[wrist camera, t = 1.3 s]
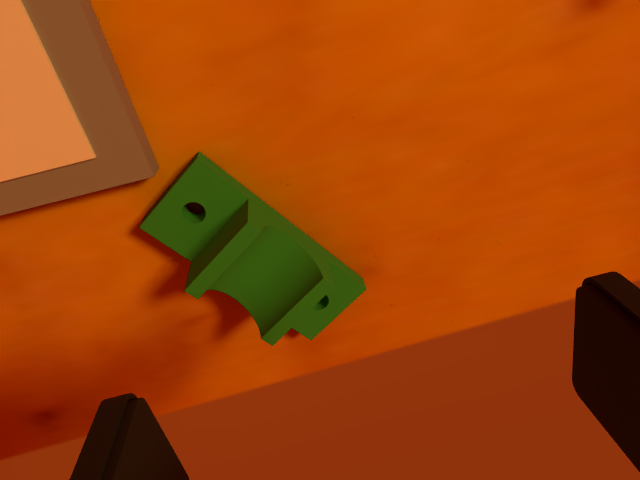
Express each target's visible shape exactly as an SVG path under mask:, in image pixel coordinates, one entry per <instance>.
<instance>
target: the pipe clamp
mask: <svg viewBox="0 0 640 480" xmlns="http://www.w3.org/2000/svg"><path fill="white" fill-rule="evenodd" d="M190 202H196V203H199V204H201V205H202V206H203V207H204V209H205V212H203V213H201V214H193V213H191V212H189V211H188V210H187V208H186V207H185V205H186V204H187V203H190ZM139 228H141V229H142V230H144V231H145V232H147V233H148V234H150V235H151V236H153V237H154V238H156V239H157V240H159V241H160V242H162V243H163V244H165V245H167V246H168V247H170V248H171V249H173V250H174V251H176V252H177V253H179V254H180V255H182V256H183V257H185V258H186V259H188V260H189V261H191V265H190V269H189V274H188V278H187V282H186V286H185V290H184V291H185V292H187V293H188V294H190V295H192V296H193V297H195V298H197V299H199V298H200V297H201V296H202V295H203V294H204V293H205V291H206V290H217V291H221V292H223V293H226V294H228V295H229V296H231V297H233V298H234V299H236V300H237V301H238V302H239V303H241V304H242V305H243V306H244V307H245V308H246V309H247V310H248V312H249V313H250V314H251V315H252V317H253V318H254V320H255V322H256V323H257V325H258V328H259V331H260V335H261V339H262V340H264V341H266V342H267V343H269V344H270V345H272V346H273V345H274V344H275V343H276V342H277V341H278V340H279V339H280V338H281V337H282V336H283V335H285V334H286V333H287V332H288V331H289V330H290V329H291V328H293V329H294V330H296V331H297V332H299V333H300V334H302V335H304V336H305V337H307V338H308V339H310V340H312V339H313V338H314V337H315V336H316V335H317V334H319V333H320V332H321V331H322V330H323V329H324V328H325V327H326V326H327V325H328V324H329V323H330V322H332V321H333V320H334V319H335V318H336V317H337V316H338V315H339V314H340V313H341V312H342V311H343V310H344V309H346V308H347V307H348V306H349V305H350V304H351V303H352V302H353V301H354V300H355V299H356V298H357V297H359V296H360V295H361V294H362V293H363V292H364V291H365V290H366V286H365V284H364V281H363V278H362V277H360V276H359V275H358V274H357V273H355V272H354V271H353V270H351V269H350V268H349V267H347V266H346V265H345V264H344V263H342V262H341V261H340V260H338V259H337V258H336V257H335V256H333V255H332V254H331V253H329V252H328V251H327V250H326V249H324V248H323V247H322V246H320V245H319V244H318V243H317V242H315V241H314V240H313V239H311V238H310V237H309V236H308V235H306V234H305V233H304V232H302V231H301V230H300V229H299V228H297V227H296V226H295V225H293V224H292V223H291V222H289V221H288V220H287V219H286V218H284V217H283V216H282V215H280V214H279V213H278V212H277V211H275V210H274V209H273V208H271V207H270V206H269V205H268V204H266V203H265V202H264V201H262V200H261V199H260V198H259V197H257V196H256V195H255V194H253V193H252V192H251V191H250V190H248V189H247V188H246V187H244V186H243V185H242V184H241V183H239V182H238V181H237V180H235V179H234V178H233V177H231V176H230V175H229V174H228V173H226V172H225V171H224V170H222V169H221V168H220V167H219V166H217V165H216V164H215V163H213V162H212V161H211V160H210V159H208V158H207V157H206V156H204V155H203V154H202V153H201V152H198V153H197V155H196V156H195V157H194V158H193V159H192V161H191V162H190V163H189V164H188V165H187V167H186V168H185V169H184V170H183V171H182V173H181V174H180V175H179V176H178V177H177V179H176V180H175V181H174V182H173V183H172V185H171V186H170V187H169V188H168V189H167V191H166V192H165V193H164V194H163V195H162V197H161V198H160V199H159V200H158V201H157V203H156V204H155V205H154V206H153V207H152V209H151V210H150V211H149V212H148V213H147V215H146V216H145V217H144V219H143V221H142V223H141V225H140V227H139Z"/></svg>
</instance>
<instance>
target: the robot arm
mask: <svg viewBox="0 0 640 480" xmlns="http://www.w3.org/2000/svg"><path fill="white" fill-rule="evenodd" d="M572 382H573V386H574V388H575V391H576V392H577V394H578V396H579V397H580V398H581V400H582V401H583V402H584V403H585V404H586V406H587V407H588V408H589V409H590V411H591V412H592V413H593V415H594V416H595V417H596V418H597V420H598V421H599V422H600V423H601V424H602V426H603V427H604V428H605V430H606V431H607V432H608V433H609V435H610V436H611V437H612V438H613V439H614V441H615V442H616V443H617V444H618V446H619V447H620V448H621V449H622V451H623V452H624V453H625V454H626V456H627V457H628V458H629V459H630V461H631V462H632V463H633V464H634V466H635V467H636V468H637V469H638V471H639V472H640V289H639V288H638V287H637V286H635V285H634V284H633V283H631V282H630V281H629V280H627V279H626V278H625V277H623V276H622V275H621V274H619V273H617V272H608V273H605V274H601V275H597V276H593V277H589V278H586V279H584V281H583V283H582V287H579V288H577V290H576V301H575V324H574V348H573V371H572ZM69 480H189V477H188V475H187V473H186V471H185V470H184V468H183V466H182V464H181V462H180V461H179V459H178V457H177V455H176V454H175V452H174V450H173V448H172V446H171V445H170V443H169V441H168V439H167V438H166V436H165V434H164V432H163V431H162V429H161V427H160V425H159V423H158V422H157V420H156V418H155V416H154V414H153V413H152V411H151V409H150V407H149V406H148V404H147V402H146V401H145V399H143V398H137V397H136V396H135V395H134V394H132V393H129V394H125V395H121V396H117V397H113V398H109V399H105V400H103V401H102V402H101V404H100V406H99V408H98V410H97V413H96V415H95V418H94V420H93V423H92V425H91V428H90V430H89V433H88V435H87V438H86V440H85V443H84V445H83V448H82V450H81V453H80V455H79V458H78V461H77V463H76V465H75V468H74V471H73V473H72V475H71V478H70V479H69Z"/></svg>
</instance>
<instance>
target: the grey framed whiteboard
mask: <svg viewBox="0 0 640 480" xmlns="http://www.w3.org/2000/svg"><path fill="white" fill-rule="evenodd" d="M158 169H159V167H158V164H157V162H156V159H155V157H154V155H153V152H152V150H151V147H150V145H149V143H148V140H147V138H146V135H145V133H144V131H143V128H142V126H141V123H140V121H139V119H138V116H137V114H136V111H135V109H134V107H133V104H132V102H131V99H130V97H129V95H128V92H127V90H126V87H125V85H124V83H123V80H122V78H121V75H120V73H119V71H118V68H117V66H116V63H115V61H114V59H113V56H112V54H111V51H110V49H109V47H108V44H107V42H106V39H105V37H104V34H103V32H102V30H101V27H100V25H99V22H98V20H97V18H96V15H95V13H94V10H93V8H92V6H91V3H90V1H89V0H0V216H1V215H5V214H9V213H13V212H17V211H21V210H25V209H29V208H33V207H36V206H40V205H44V204H48V203H52V202H56V201H60V200H64V199H68V198H72V197H76V196H80V195H84V194H88V193H92V192H96V191H100V190H104V189H108V188H111V187H115V186H119V185H123V184H127V183H131V182H135V181H139V180H143V179H147V178H151V177H154V176H155V174H156V172H157V170H158Z"/></svg>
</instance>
